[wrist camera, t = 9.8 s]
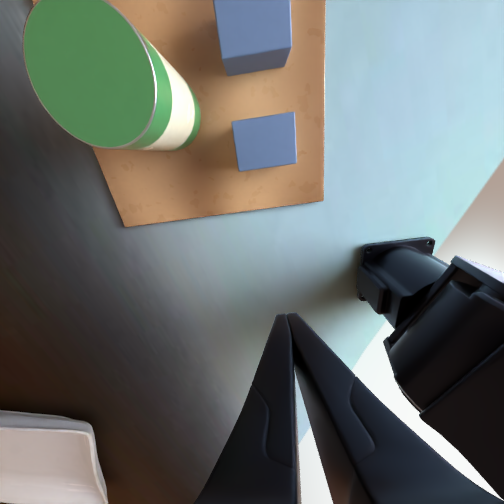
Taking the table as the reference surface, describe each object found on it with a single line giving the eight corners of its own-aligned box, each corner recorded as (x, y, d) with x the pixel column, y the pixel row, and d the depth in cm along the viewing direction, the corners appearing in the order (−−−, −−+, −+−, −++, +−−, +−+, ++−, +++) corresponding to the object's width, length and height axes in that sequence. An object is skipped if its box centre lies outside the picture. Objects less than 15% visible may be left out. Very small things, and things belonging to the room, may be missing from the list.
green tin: (247, 19, 10) (-29, -88, 5) (259, 134, 13) (74, 147, 7) (168, 81, 17) (7, 63, 11) (185, 151, 19) (56, 164, 13)
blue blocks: (281, 6, 13) (289, -33, 10) (290, 161, 17) (297, 163, 14) (218, 18, 13) (209, -17, 11) (240, 168, 17) (238, 172, 14)
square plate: (-26, 471, 41) (-52, 501, 37) (-95, 384, 30) (-141, 415, 26) (117, 484, 43) (105, 513, 40) (105, 407, 32) (87, 438, 28)
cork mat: (324, -86, 12) (326, -94, 11) (322, 200, 19) (323, 200, 18) (27, -22, 13) (20, -28, 12) (127, 225, 20) (125, 227, 19)
